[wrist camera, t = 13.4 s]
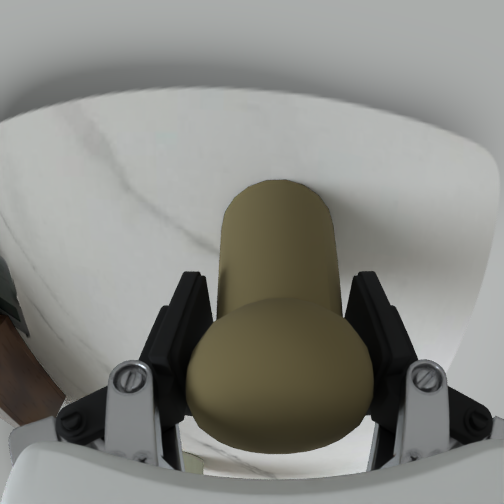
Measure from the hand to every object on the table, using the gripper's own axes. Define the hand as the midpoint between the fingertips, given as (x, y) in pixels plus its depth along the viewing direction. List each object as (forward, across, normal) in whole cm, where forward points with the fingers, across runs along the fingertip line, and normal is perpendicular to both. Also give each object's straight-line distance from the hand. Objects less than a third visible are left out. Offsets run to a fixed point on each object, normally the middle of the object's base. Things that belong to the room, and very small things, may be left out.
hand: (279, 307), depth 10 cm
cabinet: (+6, +38, +18) cm, 42 cm away
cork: (+6, 0, 0) cm, 6 cm away
